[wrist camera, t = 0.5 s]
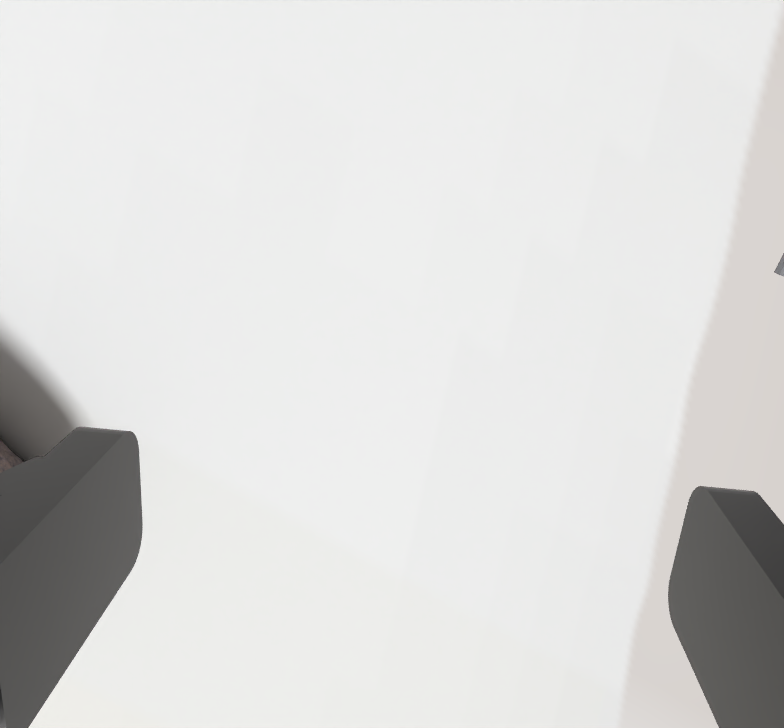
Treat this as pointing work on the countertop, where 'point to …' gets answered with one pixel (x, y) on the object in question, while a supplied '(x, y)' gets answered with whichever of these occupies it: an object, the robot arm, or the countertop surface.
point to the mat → (780, 267)
